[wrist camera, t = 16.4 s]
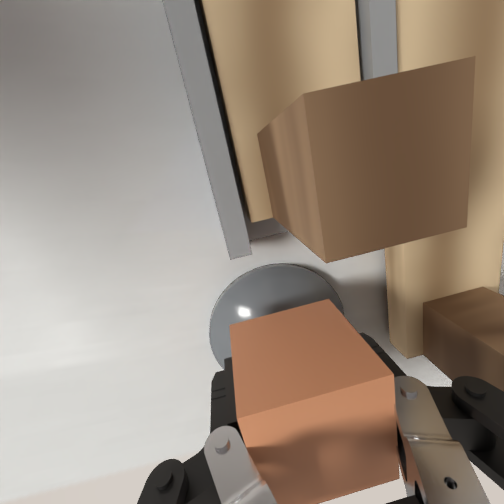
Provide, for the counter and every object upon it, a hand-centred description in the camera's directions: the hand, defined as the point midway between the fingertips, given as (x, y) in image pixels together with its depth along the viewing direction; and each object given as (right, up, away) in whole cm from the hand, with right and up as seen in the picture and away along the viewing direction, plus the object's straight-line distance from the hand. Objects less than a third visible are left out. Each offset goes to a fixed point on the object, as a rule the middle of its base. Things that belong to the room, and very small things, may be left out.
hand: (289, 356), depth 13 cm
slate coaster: (0, +1, +3) cm, 3 cm away
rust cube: (0, 0, 0) cm, 0 cm away
